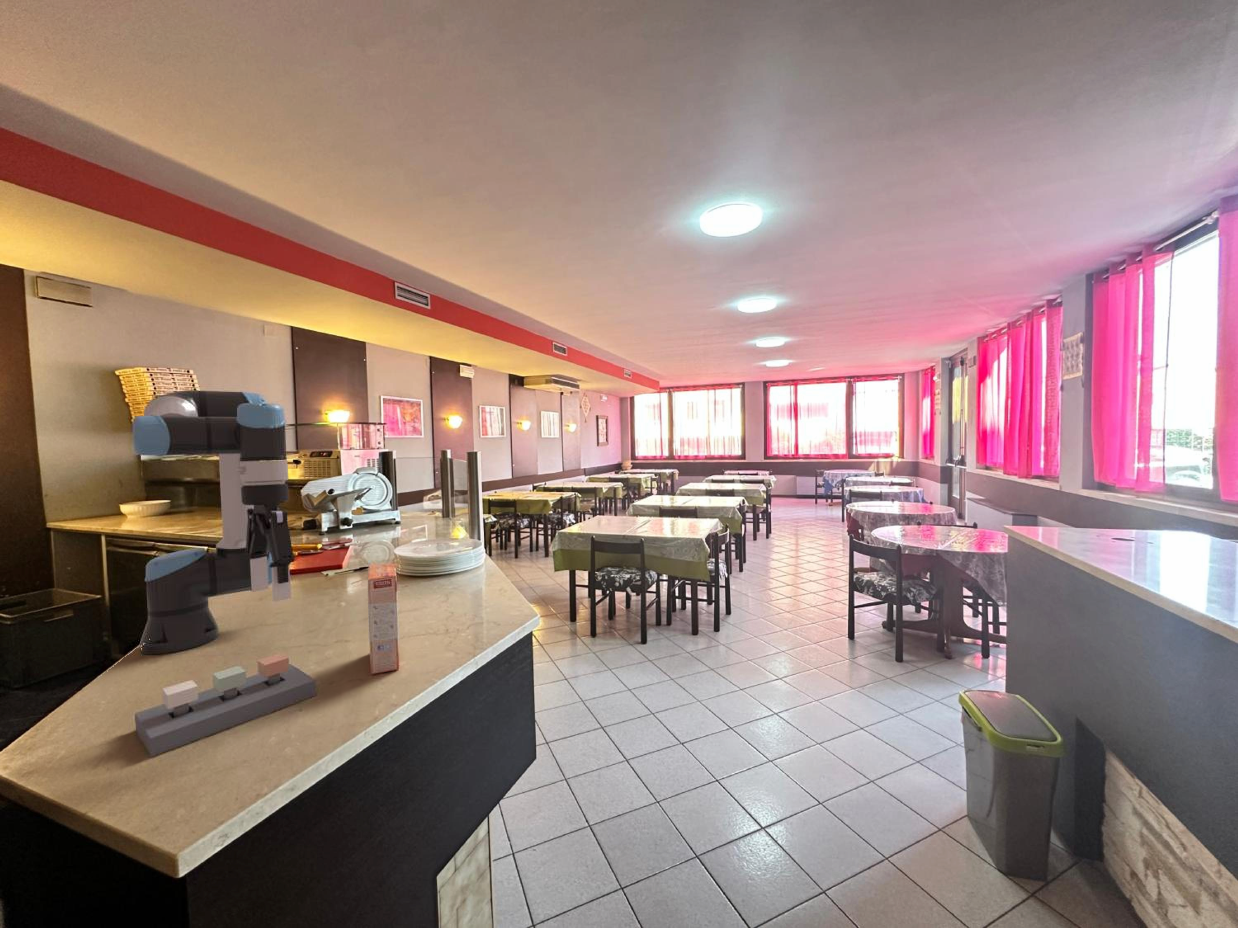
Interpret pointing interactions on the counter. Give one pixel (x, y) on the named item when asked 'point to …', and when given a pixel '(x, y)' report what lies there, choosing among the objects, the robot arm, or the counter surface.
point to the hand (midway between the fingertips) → (270, 594)
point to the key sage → (229, 681)
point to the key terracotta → (273, 667)
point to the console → (221, 710)
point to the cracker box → (383, 618)
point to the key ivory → (180, 697)
